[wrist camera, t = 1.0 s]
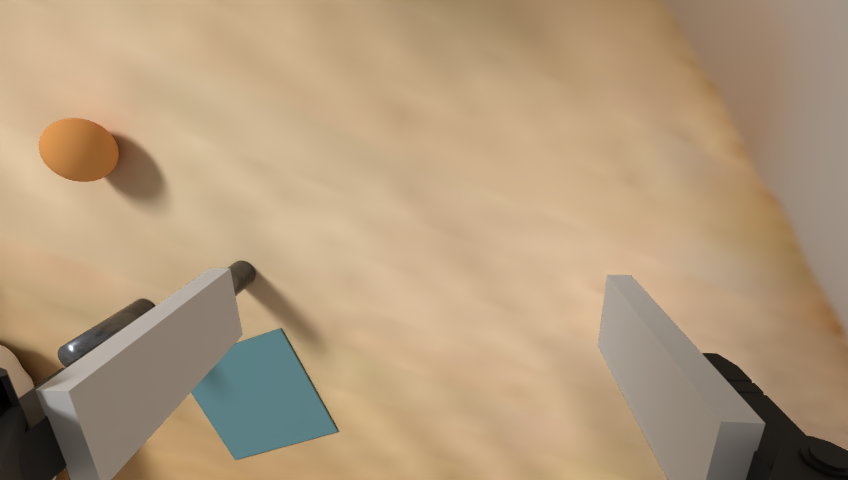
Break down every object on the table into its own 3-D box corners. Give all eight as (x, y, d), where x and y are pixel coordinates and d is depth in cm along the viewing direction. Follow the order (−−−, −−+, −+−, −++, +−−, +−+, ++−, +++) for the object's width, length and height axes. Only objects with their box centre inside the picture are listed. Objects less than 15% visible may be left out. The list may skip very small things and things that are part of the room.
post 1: (129, 303, 45) (51, 349, 37) (148, 295, 45) (74, 341, 36) (142, 323, 46) (69, 374, 38) (161, 316, 46) (92, 366, 37)
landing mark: (174, 364, 47) (173, 365, 47) (281, 328, 45) (280, 329, 45) (235, 458, 51) (235, 459, 51) (337, 430, 48) (337, 431, 48)
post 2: (226, 265, 43) (167, 306, 34) (247, 257, 42) (193, 296, 34) (238, 287, 44) (184, 333, 35) (260, 279, 43) (209, 323, 35)
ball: (66, 130, 40) (6, 135, 35) (111, 107, 39) (57, 108, 34) (99, 184, 41) (47, 196, 36) (144, 163, 40) (96, 173, 35)
